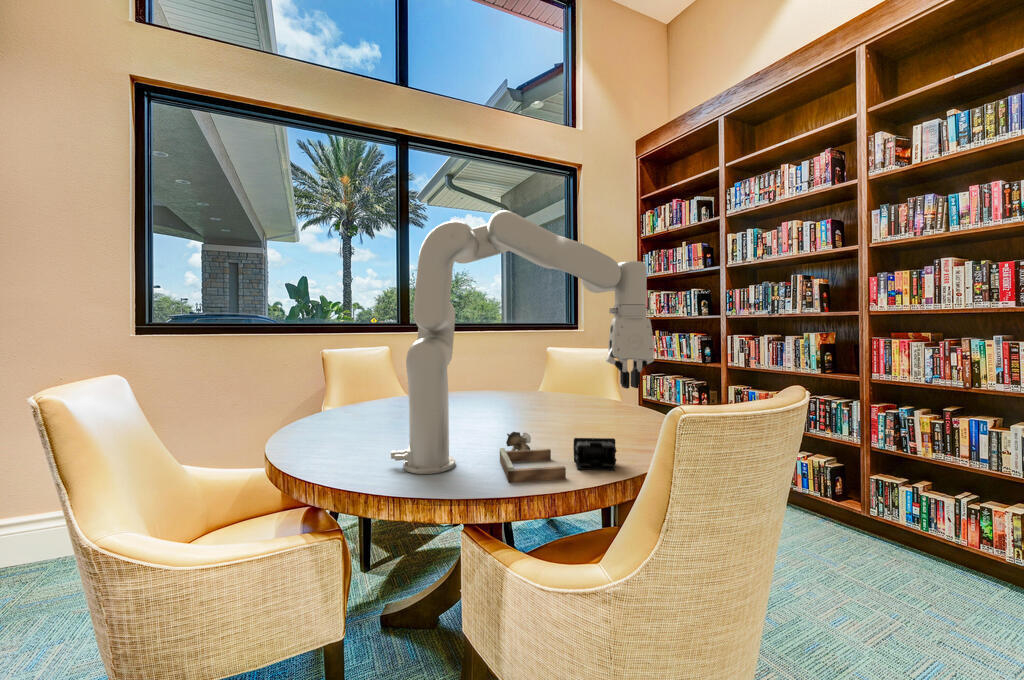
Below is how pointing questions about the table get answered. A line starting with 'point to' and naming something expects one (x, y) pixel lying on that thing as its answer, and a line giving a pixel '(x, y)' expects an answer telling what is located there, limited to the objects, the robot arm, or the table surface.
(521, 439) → the squirrel figurine
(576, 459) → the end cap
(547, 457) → the wooden tray
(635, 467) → the table surface
